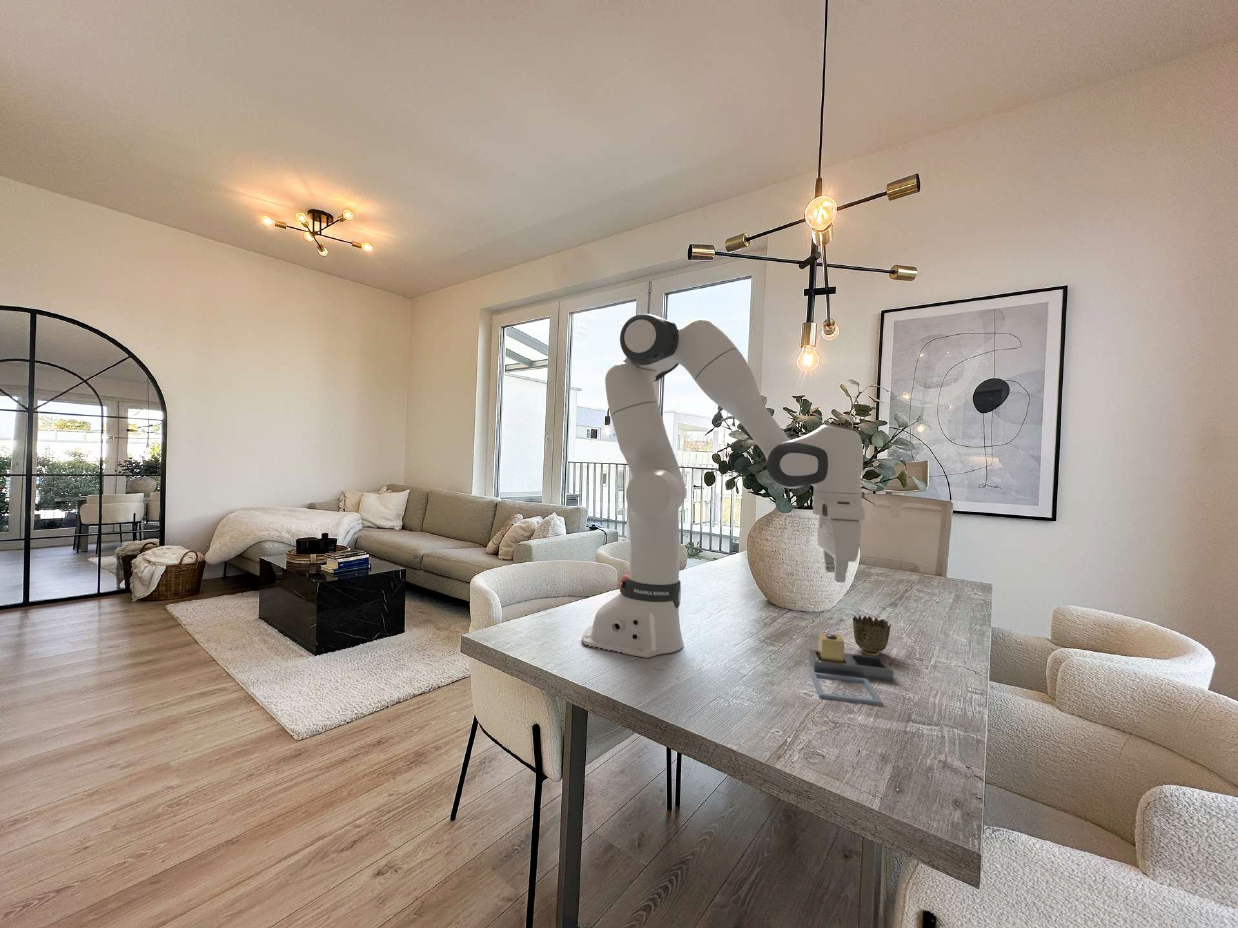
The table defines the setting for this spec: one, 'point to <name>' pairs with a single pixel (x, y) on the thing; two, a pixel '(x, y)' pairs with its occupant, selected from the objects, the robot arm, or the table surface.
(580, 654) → the table surface
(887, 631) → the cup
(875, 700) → the blue-grey flat square frame
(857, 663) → the grey open box
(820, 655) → the yellow upright block
